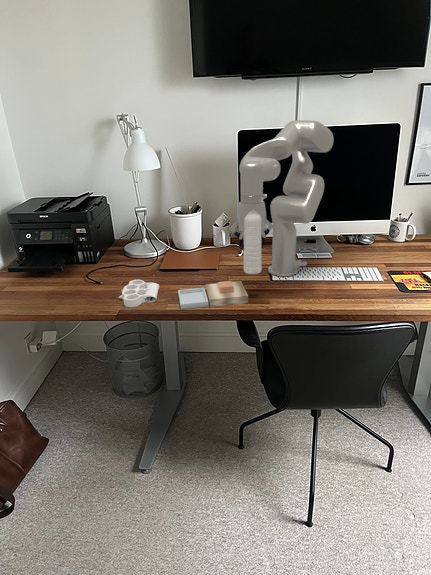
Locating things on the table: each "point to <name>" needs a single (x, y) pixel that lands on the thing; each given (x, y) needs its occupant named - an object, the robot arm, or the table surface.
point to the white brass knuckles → (139, 293)
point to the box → (193, 298)
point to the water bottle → (252, 243)
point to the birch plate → (226, 295)
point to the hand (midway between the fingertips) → (251, 247)
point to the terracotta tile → (225, 287)
